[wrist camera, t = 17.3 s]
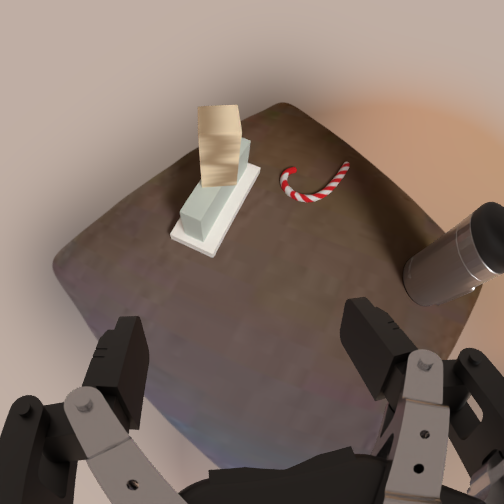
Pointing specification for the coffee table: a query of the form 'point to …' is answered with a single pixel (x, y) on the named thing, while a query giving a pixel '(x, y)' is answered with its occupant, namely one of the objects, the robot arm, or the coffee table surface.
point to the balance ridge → (214, 208)
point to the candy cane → (315, 196)
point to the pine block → (219, 144)
